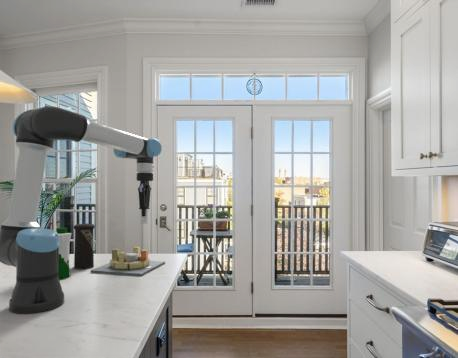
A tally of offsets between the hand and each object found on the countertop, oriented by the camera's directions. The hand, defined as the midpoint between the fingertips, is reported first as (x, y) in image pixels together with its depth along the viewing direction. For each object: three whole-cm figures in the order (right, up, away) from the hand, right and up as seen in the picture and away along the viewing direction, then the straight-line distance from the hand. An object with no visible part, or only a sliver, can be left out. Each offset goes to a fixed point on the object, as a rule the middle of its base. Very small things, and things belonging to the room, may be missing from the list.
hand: (144, 223), depth 162 cm
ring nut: (-6, -19, -3) cm, 20 cm away
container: (-27, -20, -2) cm, 34 cm away
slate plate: (-6, -20, -3) cm, 21 cm away
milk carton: (-31, -20, -21) cm, 42 cm away
